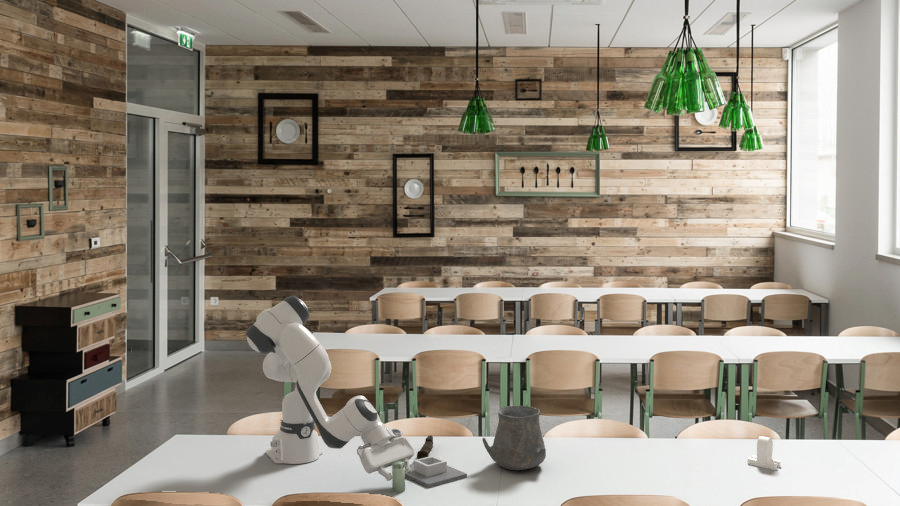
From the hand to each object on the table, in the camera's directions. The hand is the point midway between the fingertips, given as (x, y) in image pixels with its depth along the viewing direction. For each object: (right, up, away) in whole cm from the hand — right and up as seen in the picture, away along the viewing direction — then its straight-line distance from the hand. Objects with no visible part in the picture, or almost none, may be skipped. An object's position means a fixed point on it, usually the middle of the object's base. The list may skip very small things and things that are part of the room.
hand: (399, 476), depth 262 cm
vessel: (+41, -3, +25) cm, 48 cm away
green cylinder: (0, -5, +1) cm, 5 cm away
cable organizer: (+126, -3, +23) cm, 128 cm away
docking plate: (+9, -4, +16) cm, 19 cm away
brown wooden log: (+7, -3, +40) cm, 40 cm away
